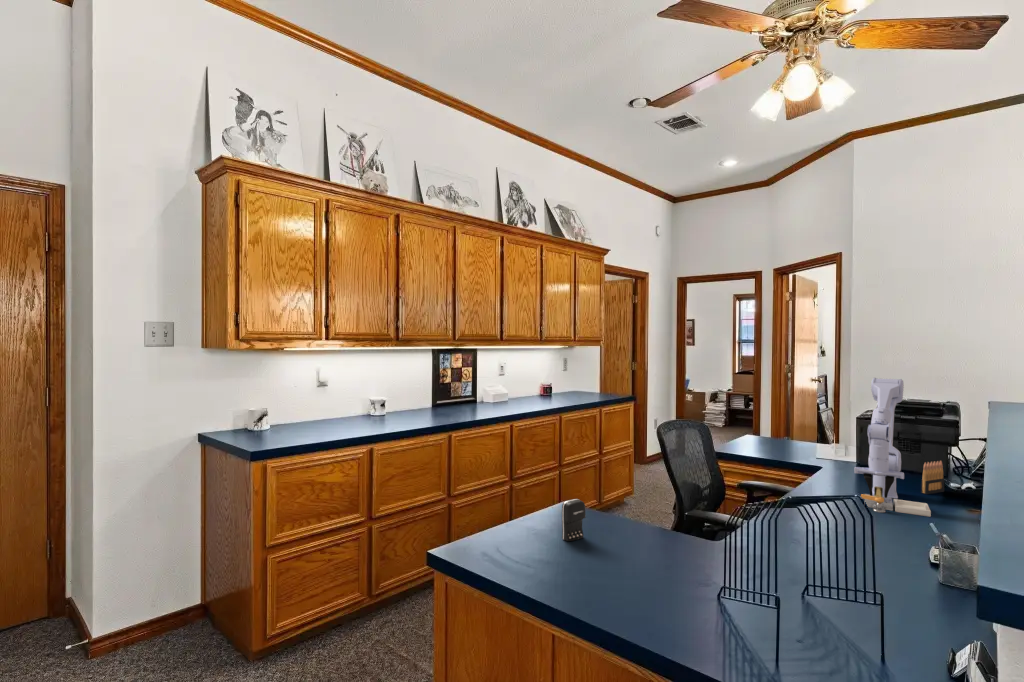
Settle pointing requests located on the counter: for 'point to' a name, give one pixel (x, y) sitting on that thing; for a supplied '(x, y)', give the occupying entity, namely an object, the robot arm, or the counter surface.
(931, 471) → the ammunition clip
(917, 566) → the counter surface
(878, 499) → the keeper
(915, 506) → the tray
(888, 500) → the hitch block
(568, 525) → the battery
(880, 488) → the pin
